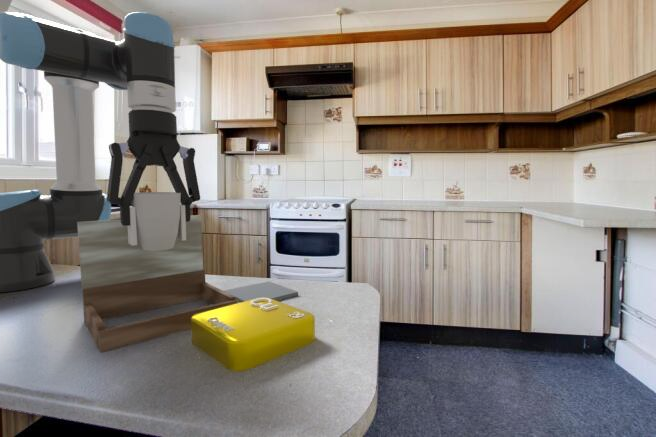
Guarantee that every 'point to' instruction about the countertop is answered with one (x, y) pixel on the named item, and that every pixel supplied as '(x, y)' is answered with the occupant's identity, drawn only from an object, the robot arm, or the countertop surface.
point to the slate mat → (262, 292)
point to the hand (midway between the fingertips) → (158, 241)
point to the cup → (157, 219)
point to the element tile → (251, 332)
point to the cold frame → (141, 282)
